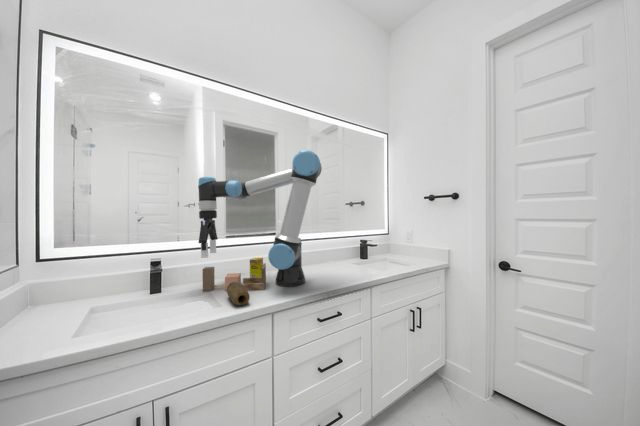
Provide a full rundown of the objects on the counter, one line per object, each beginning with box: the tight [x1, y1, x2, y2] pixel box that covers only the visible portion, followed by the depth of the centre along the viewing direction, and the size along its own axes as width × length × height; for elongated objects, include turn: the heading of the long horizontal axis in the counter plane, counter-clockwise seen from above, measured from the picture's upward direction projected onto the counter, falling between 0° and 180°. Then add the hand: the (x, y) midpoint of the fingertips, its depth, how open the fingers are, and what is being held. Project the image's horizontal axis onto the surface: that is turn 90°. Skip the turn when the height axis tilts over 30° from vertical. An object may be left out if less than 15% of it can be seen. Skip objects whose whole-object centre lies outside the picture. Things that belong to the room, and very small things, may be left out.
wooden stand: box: [241, 262, 267, 292], centre depth 115 cm, size 11×12×10 cm
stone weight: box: [226, 282, 250, 306], centre depth 96 cm, size 15×7×7 cm, turn 37°
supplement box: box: [249, 257, 264, 278], centre depth 131 cm, size 6×6×11 cm
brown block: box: [202, 266, 242, 292], centre depth 113 cm, size 16×7×10 cm, turn 100°
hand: (209, 255), depth 112 cm, fingers open, 13 cm apart
